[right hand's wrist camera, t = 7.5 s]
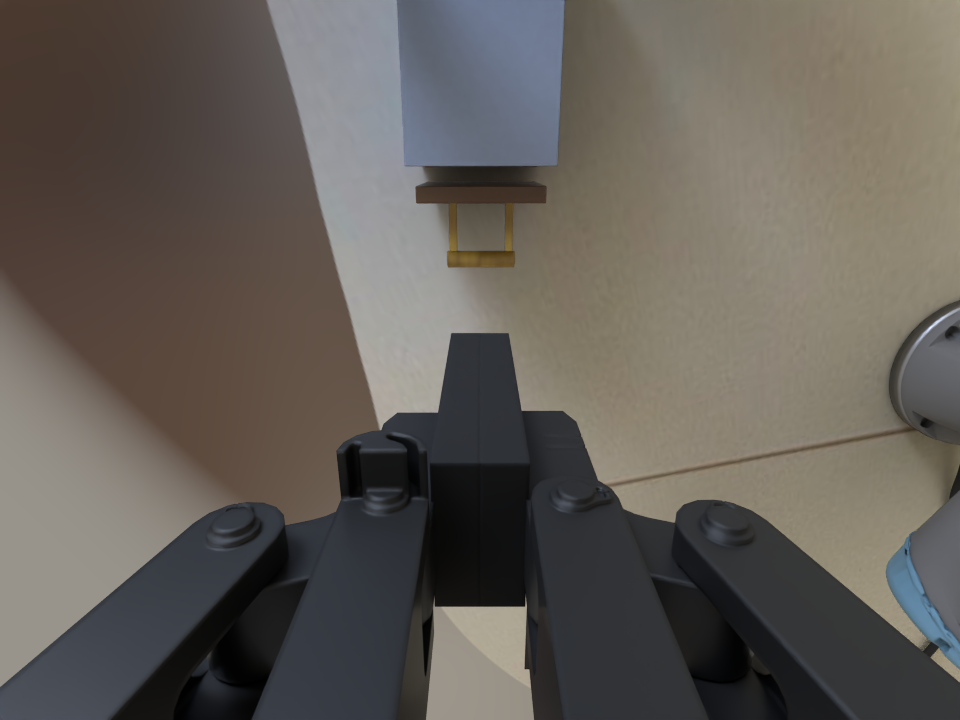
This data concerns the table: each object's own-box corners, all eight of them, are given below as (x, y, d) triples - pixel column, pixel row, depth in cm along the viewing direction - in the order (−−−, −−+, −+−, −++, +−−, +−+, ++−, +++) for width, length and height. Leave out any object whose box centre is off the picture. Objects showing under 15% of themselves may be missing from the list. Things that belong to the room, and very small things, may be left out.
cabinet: (540, 164, 49) (557, 166, 38) (421, 165, 49) (404, 166, 38) (549, -105, 42) (574, -196, 31) (411, -105, 42) (387, -196, 31)
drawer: (531, 255, 51) (543, 275, 42) (429, 255, 51) (419, 276, 42) (541, -52, 42) (558, -110, 33) (419, -52, 42) (403, -109, 33)
